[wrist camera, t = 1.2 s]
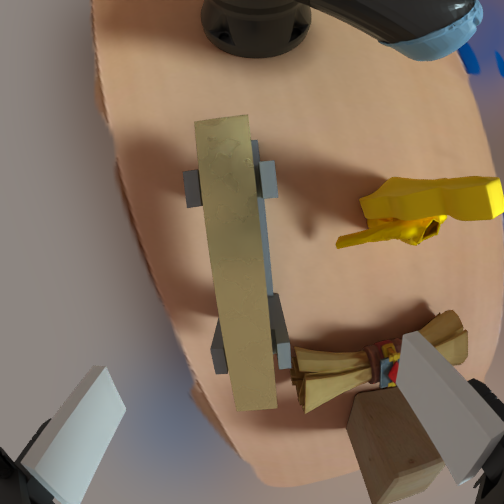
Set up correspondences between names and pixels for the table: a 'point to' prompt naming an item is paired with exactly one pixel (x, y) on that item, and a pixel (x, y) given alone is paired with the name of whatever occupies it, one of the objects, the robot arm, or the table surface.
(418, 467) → the wooden block
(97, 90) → the table surface
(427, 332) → the scroll
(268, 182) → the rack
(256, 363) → the rail
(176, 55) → the table surface
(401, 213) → the figure statuette
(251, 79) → the table surface
